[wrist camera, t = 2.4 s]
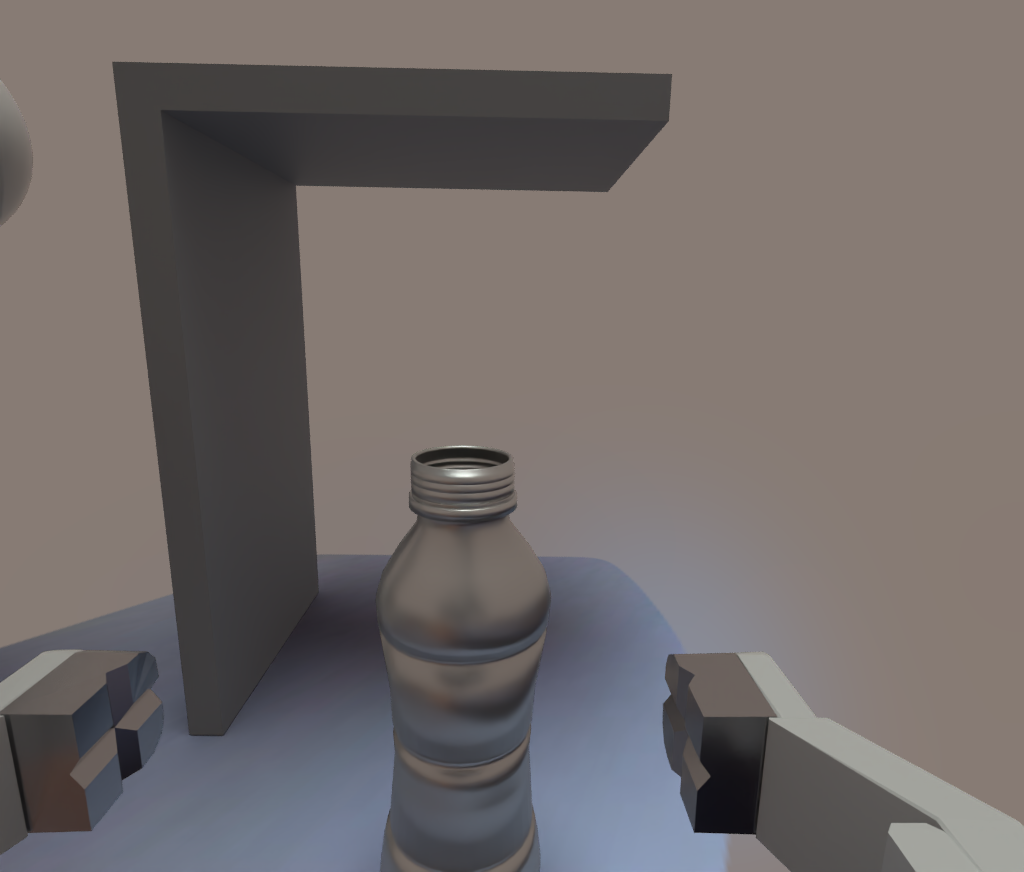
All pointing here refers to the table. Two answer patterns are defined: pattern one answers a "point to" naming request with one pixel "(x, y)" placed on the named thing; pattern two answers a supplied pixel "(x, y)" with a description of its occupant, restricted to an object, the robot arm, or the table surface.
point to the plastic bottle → (462, 669)
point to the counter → (299, 291)
